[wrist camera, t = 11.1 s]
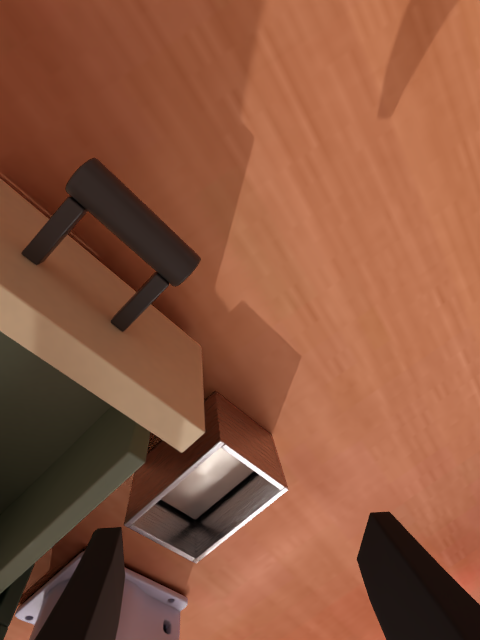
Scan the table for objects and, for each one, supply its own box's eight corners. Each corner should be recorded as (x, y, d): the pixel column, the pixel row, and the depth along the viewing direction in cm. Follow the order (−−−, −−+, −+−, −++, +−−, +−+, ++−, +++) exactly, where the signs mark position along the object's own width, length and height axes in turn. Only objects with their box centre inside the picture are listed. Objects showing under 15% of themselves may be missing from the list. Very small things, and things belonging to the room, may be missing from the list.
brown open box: (272, 435, 22) (289, 489, 18) (195, 499, 23) (195, 563, 19) (215, 390, 20) (220, 440, 16) (136, 463, 22) (123, 525, 18)
